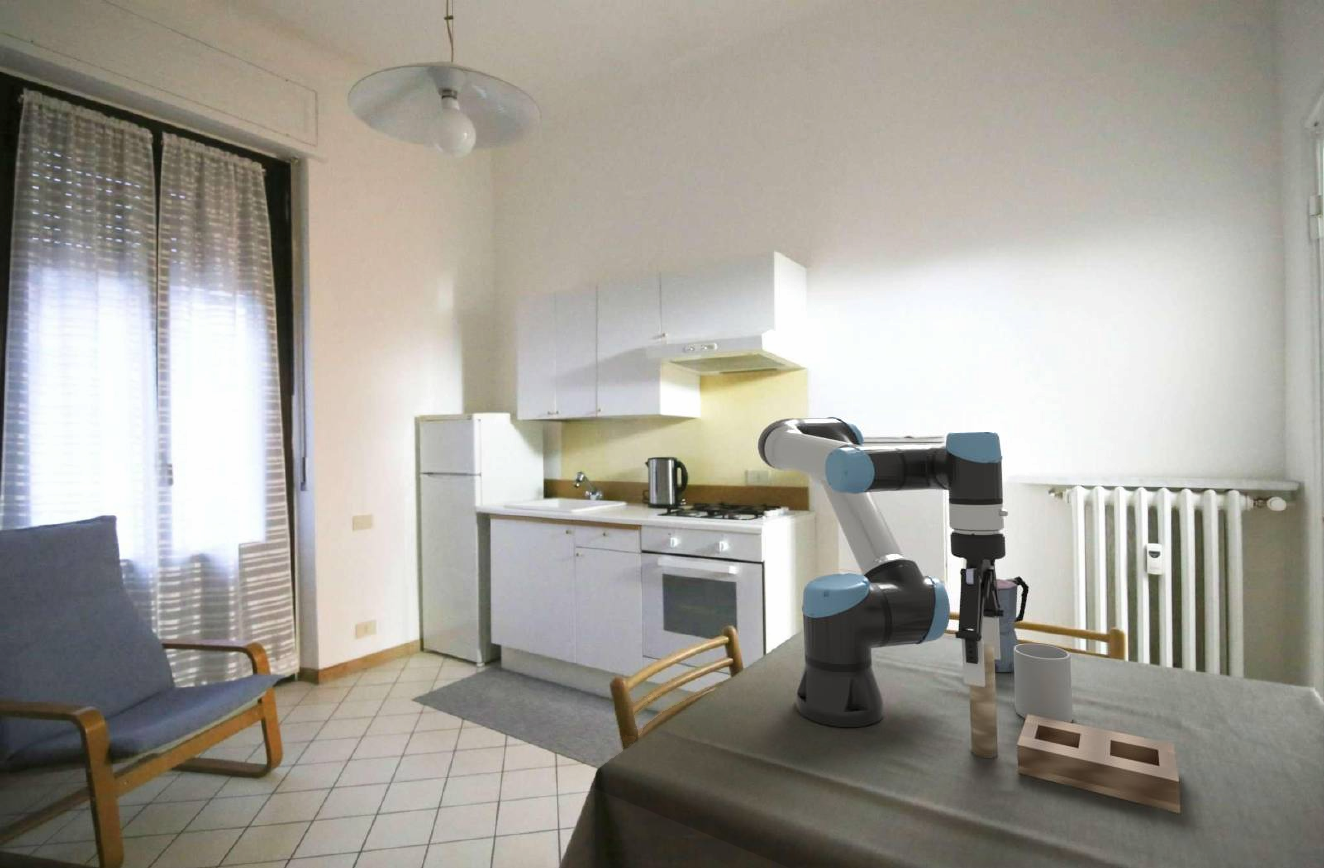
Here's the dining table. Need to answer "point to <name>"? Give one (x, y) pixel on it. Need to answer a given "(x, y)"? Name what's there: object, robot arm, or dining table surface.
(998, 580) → the moka pot
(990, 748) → the pin
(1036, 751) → the bore block
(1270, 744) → the dining table surface
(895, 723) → the dining table surface
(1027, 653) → the mug
